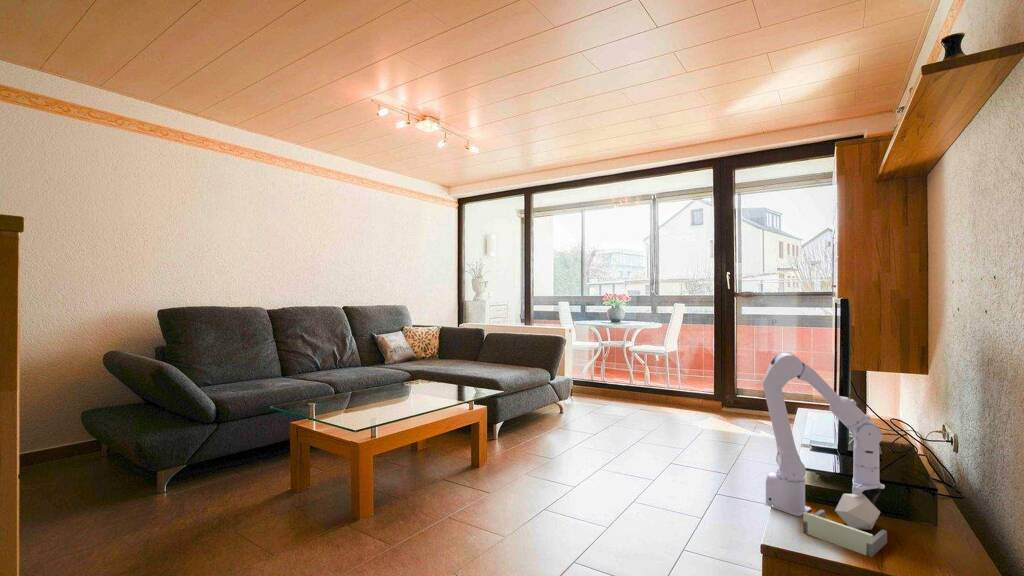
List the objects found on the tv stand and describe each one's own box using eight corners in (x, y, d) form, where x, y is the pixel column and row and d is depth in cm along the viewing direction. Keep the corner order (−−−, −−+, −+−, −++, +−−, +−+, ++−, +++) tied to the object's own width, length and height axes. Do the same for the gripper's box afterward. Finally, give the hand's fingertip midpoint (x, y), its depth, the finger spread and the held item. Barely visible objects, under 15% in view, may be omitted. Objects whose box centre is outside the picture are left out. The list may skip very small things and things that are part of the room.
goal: (803, 532, 124) (803, 512, 124) (820, 520, 131) (820, 501, 131) (871, 557, 112) (871, 535, 112) (887, 543, 119) (887, 522, 119)
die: (879, 541, 121) (891, 504, 124) (844, 520, 123) (857, 484, 126) (857, 537, 129) (869, 502, 132) (824, 517, 131) (837, 484, 134)
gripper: (874, 475, 123) (874, 528, 123) (892, 463, 132) (892, 513, 132) (843, 467, 129) (843, 518, 129) (862, 456, 138) (862, 504, 138)
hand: (866, 515), depth 131 cm, fingers closed
